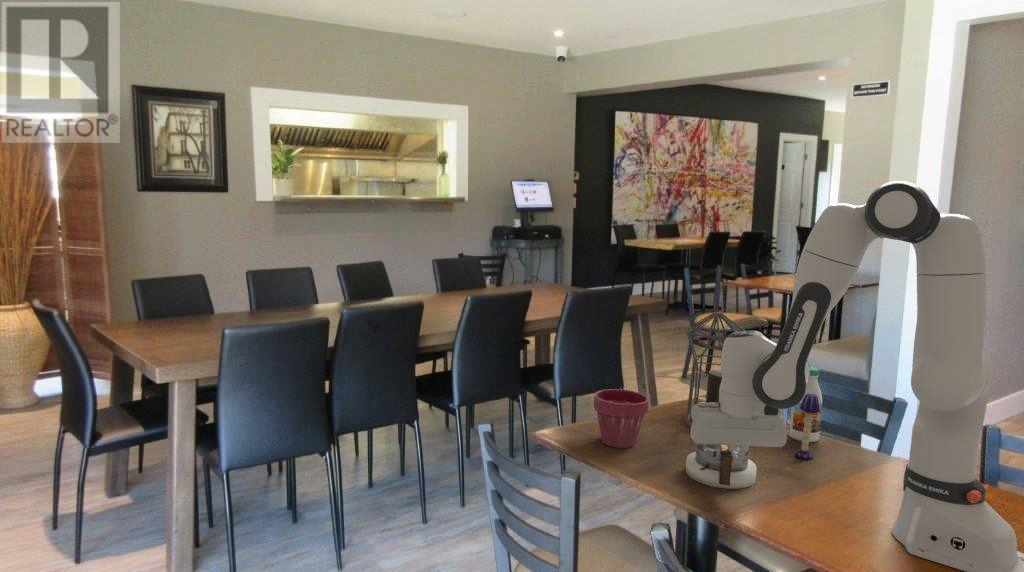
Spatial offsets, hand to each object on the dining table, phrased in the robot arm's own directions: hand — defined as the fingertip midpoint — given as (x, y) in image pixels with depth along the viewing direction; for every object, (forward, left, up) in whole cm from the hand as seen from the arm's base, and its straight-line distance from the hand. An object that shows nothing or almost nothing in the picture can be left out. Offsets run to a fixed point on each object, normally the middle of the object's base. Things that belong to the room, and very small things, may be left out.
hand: (736, 463), depth 155 cm
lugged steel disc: (+5, -3, -4) cm, 7 cm away
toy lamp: (+2, -35, -7) cm, 35 cm away
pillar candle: (+34, -45, -7) cm, 57 cm away
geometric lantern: (+26, -28, -7) cm, 39 cm away
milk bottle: (+10, -49, -7) cm, 50 cm away
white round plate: (+8, -7, -7) cm, 13 cm away
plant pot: (+37, -3, -7) cm, 38 cm away
